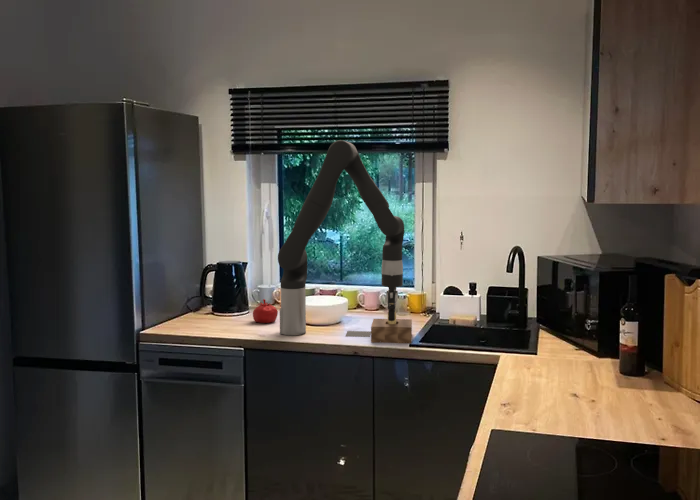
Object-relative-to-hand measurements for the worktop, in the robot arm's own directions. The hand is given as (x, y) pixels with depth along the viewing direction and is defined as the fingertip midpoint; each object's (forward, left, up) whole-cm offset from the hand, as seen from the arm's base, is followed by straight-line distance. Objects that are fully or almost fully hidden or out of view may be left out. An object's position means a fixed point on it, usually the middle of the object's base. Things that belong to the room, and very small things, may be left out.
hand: (391, 318), depth 238 cm
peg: (0, 0, -8) cm, 8 cm away
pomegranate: (-52, +26, -8) cm, 59 cm away
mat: (-12, +6, -8) cm, 16 cm away
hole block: (0, 0, -8) cm, 8 cm away
